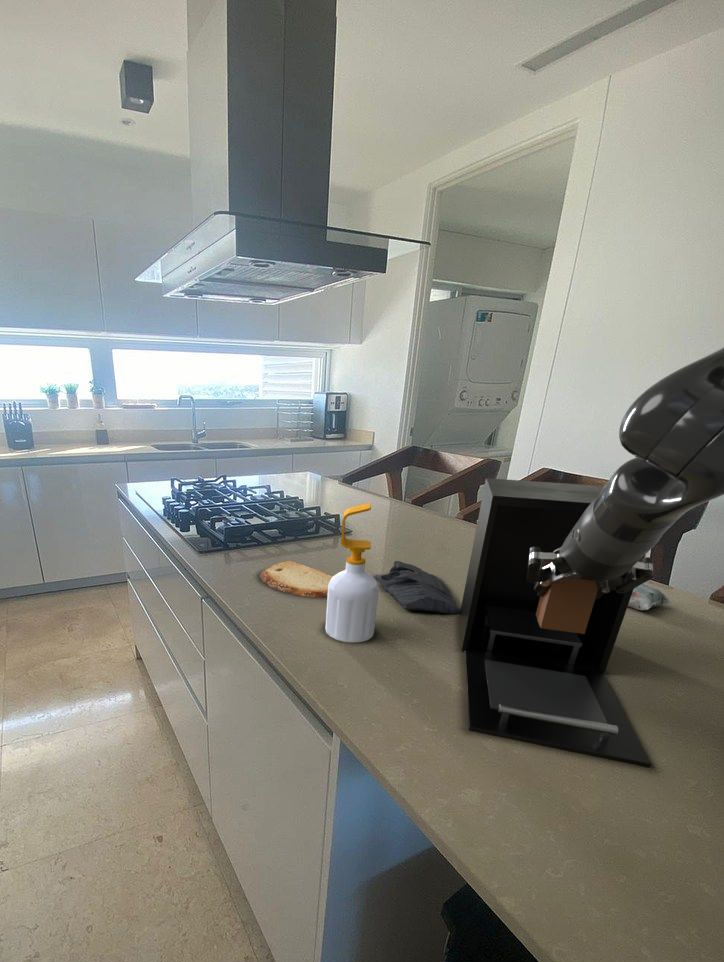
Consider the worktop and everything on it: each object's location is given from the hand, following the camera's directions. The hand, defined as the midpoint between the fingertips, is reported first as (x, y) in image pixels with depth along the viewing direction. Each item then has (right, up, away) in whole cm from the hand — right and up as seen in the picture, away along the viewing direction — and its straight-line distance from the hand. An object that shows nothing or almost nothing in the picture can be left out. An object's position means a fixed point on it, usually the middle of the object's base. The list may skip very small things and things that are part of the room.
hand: (563, 592), depth 69 cm
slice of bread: (-35, +2, +44) cm, 57 cm away
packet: (-1, -5, 0) cm, 5 cm away
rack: (+4, -9, +18) cm, 21 cm away
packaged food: (+36, -2, +37) cm, 51 cm away
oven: (+1, -13, +10) cm, 17 cm away
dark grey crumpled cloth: (-10, 0, +40) cm, 41 cm away
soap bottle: (-27, -8, +23) cm, 36 cm away
